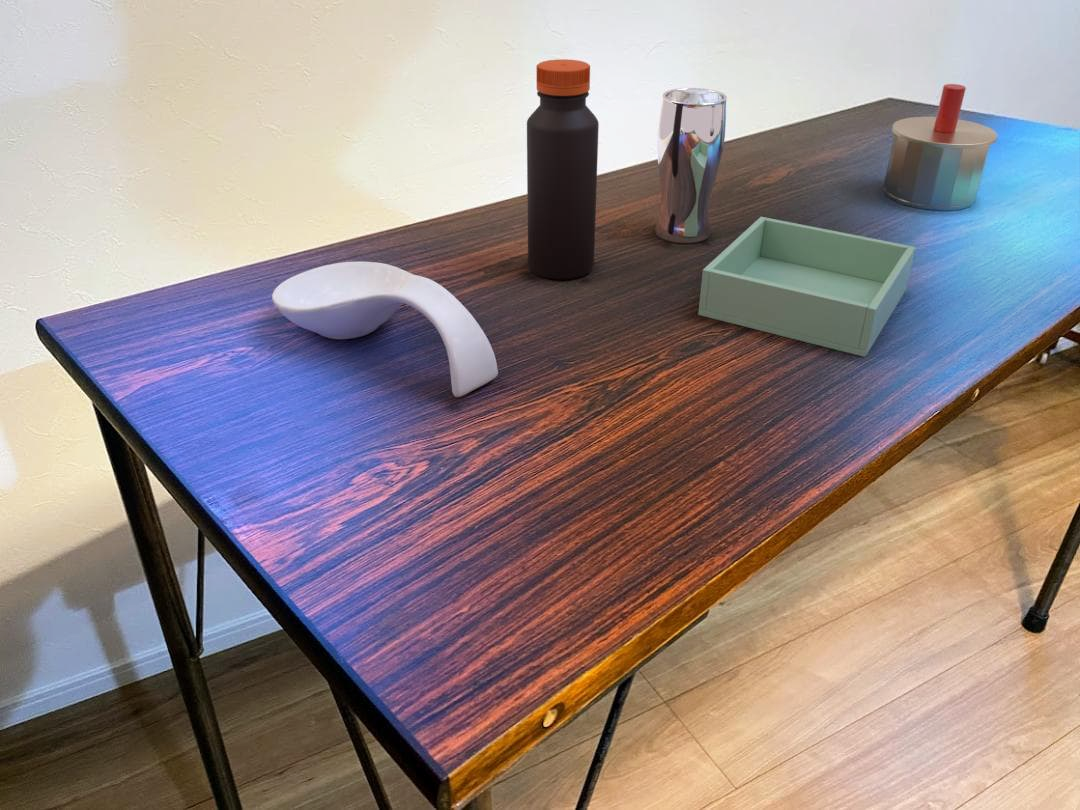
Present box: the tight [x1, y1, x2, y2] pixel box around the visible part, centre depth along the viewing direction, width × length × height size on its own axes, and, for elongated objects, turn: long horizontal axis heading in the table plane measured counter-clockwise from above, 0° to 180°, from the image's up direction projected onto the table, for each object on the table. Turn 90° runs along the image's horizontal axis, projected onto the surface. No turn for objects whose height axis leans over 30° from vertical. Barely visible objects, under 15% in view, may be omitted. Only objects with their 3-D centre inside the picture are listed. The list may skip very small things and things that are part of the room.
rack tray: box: [697, 216, 917, 358], centre depth 85 cm, size 15×15×5 cm
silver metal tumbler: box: [654, 87, 728, 244], centre depth 97 cm, size 7×7×15 cm
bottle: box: [526, 58, 600, 281], centre depth 88 cm, size 7×7×20 cm
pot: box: [883, 133, 992, 212], centre depth 109 cm, size 11×11×8 cm
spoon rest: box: [271, 261, 499, 398], centre depth 78 cm, size 24×12×7 cm, turn 48°
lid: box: [891, 83, 998, 149], centre depth 106 cm, size 12×12×6 cm
